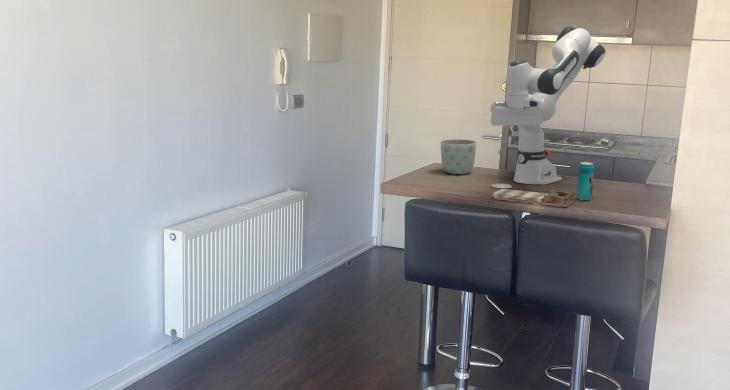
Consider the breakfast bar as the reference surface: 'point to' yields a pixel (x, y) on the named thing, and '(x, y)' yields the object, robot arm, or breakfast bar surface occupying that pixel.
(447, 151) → the planter
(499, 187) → the coaster
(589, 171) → the beverage can
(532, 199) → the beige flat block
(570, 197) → the brown square tray
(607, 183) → the breakfast bar surface
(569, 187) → the breakfast bar surface
